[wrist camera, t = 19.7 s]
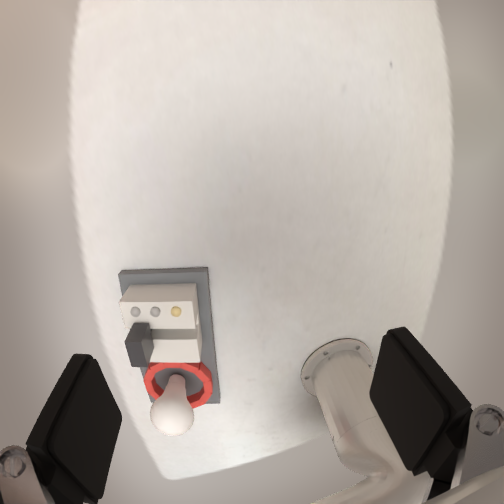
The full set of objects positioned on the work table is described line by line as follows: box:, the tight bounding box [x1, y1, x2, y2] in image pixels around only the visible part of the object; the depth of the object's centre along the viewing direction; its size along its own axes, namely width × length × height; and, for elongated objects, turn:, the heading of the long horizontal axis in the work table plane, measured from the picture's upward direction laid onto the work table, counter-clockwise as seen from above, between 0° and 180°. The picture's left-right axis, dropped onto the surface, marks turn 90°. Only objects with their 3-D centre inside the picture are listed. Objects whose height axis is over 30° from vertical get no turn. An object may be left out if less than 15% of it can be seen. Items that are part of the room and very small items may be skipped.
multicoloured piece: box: [118, 267, 220, 409], centre depth 39 cm, size 24×12×7 cm, turn 1°
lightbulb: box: [150, 374, 194, 436], centre depth 38 cm, size 6×6×11 cm
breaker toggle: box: [125, 323, 154, 367], centre depth 34 cm, size 4×2×7 cm, turn 1°
